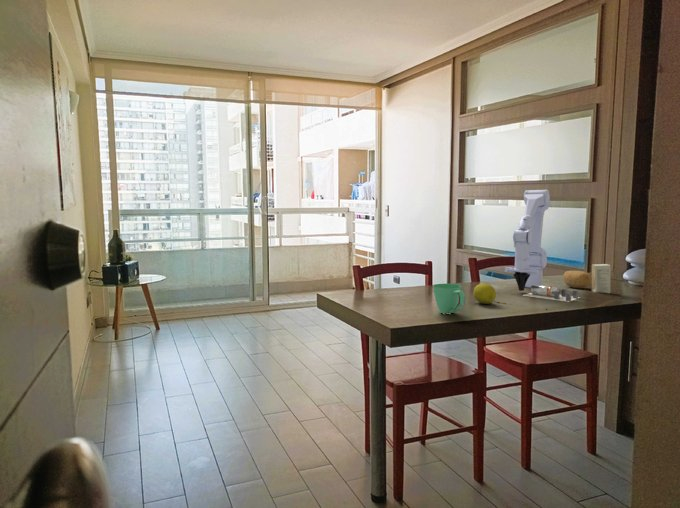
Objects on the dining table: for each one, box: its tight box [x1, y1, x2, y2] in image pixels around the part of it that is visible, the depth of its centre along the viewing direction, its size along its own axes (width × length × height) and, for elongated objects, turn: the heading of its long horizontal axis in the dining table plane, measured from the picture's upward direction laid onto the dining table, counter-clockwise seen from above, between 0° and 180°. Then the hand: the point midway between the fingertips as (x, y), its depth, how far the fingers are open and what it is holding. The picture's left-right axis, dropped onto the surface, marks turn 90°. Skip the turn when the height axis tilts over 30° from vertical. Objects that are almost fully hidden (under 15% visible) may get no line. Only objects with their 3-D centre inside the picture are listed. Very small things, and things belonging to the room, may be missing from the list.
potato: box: [562, 270, 592, 290], centre depth 223 cm, size 10×14×8 cm
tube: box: [530, 285, 560, 297], centre depth 205 cm, size 10×4×4 cm, turn 43°
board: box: [522, 292, 581, 303], centre depth 203 cm, size 19×11×1 cm, turn 43°
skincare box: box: [591, 263, 612, 294], centre depth 211 cm, size 6×4×12 cm
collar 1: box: [554, 288, 568, 299], centre depth 200 cm, size 1×8×3 cm, turn 133°
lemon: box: [473, 282, 497, 305], centre depth 196 cm, size 11×8×8 cm
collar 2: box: [565, 289, 579, 302], centre depth 197 cm, size 1×8×3 cm, turn 133°
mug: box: [432, 283, 466, 314], centre depth 178 cm, size 15×10×10 cm
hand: (521, 290), depth 212 cm, fingers closed
